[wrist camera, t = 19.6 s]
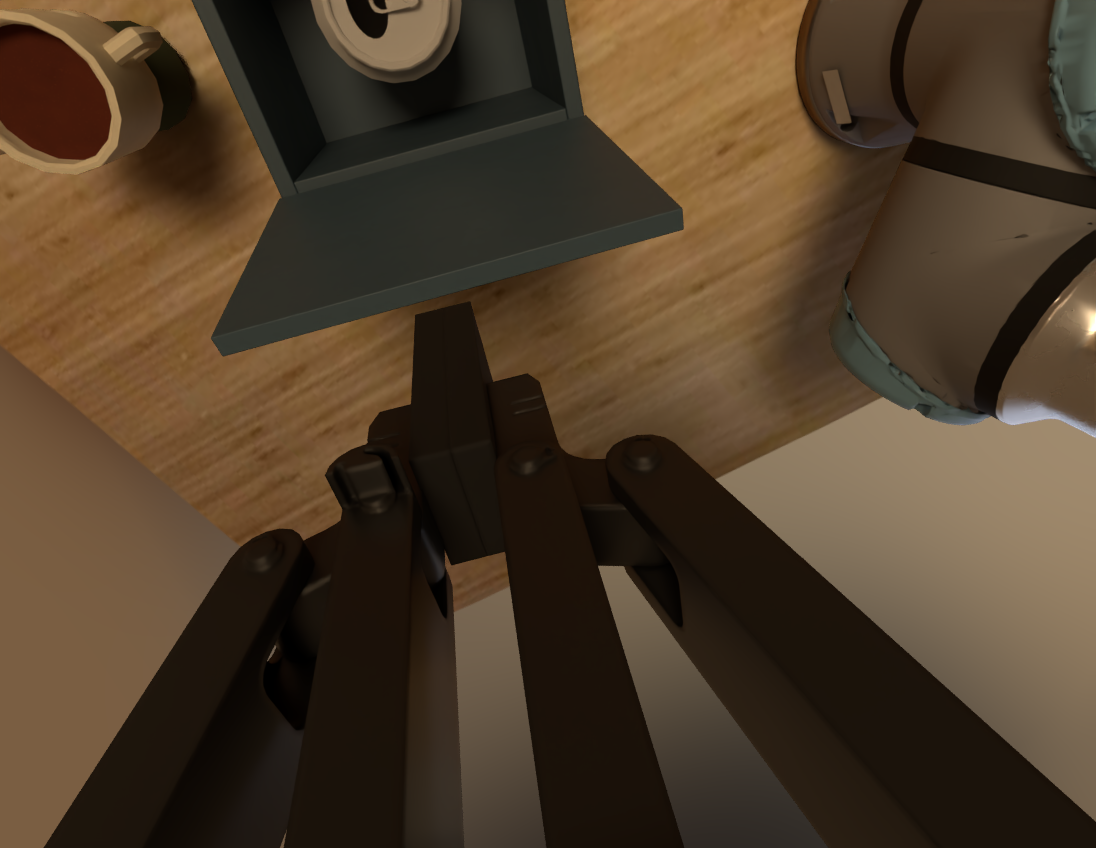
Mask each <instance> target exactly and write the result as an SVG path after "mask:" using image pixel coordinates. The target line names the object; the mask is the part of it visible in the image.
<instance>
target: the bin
mask: <svg viewBox="0 0 1096 848" xmlns="http://www.w3.org/2000/svg"><path fill="white" fill-rule="evenodd" d="M192 2H193V5H194V7H195V9H196V11H197V13H198V16H199V18H200V20H201V22H202V24H203V26H204V29H205V31H206V33H207V35H208V37H209V40H210V42H211V44H212V46H213V48H214V51H215V53H216V55H217V57H218V59H219V61H220V64H221V66H222V68H223V70H224V72H225V75H226V77H227V79H228V81H229V83H230V85H231V88H232V90H233V92H234V94H235V96H236V99H237V101H238V103H239V105H240V107H241V110H242V112H243V114H244V116H245V118H246V120H247V123H248V125H249V127H250V129H251V131H252V134H253V136H254V138H255V140H256V142H257V144H258V147H259V149H260V151H261V153H262V155H263V158H264V160H265V162H266V164H267V166H268V169H269V171H270V173H271V175H272V177H273V179H274V182H275V184H276V186H277V188H278V190H279V193H280V195H281V197H282V198H284V197H288V196H291V195H295V194H299V193H302V192H306V191H310V190H313V189H317V188H321V187H324V186H328V185H332V184H335V183H339V182H343V181H346V180H350V179H354V178H357V177H361V176H365V175H368V174H372V173H376V172H379V171H383V170H387V169H390V168H394V167H398V166H401V165H405V164H409V163H412V162H416V161H420V160H423V159H427V158H431V157H434V156H438V155H442V154H445V153H449V152H453V151H456V150H460V149H464V148H467V147H471V146H475V145H478V144H482V143H486V142H489V141H493V140H497V139H500V138H504V137H508V136H511V135H515V134H519V133H522V132H526V131H530V130H533V129H537V128H541V127H544V126H548V125H552V124H555V123H559V122H563V121H566V120H570V119H574V118H577V117H581V116H584V112H583V106H582V100H581V95H580V89H579V83H578V77H577V71H576V65H575V59H574V53H573V47H572V41H571V35H570V29H569V23H568V17H567V12H566V6H565V0H461V2H462V5H461V14H460V23H459V30H458V33H457V35H456V38H455V40H454V43H453V45H452V47H451V50H450V52H449V53H448V55H447V56H446V57H445V58H444V59H443V60H442V62H441V63H440V64H439V65H438V66H437V67H436V69H435V70H433V71H431V72H429V73H428V74H426V75H424V76H422V77H420V78H419V79H417V80H414V81H406V82H399V83H390V82H385V81H380V80H376V79H371V78H369V77H368V76H366V75H364V74H362V73H361V72H359V71H357V70H355V69H354V68H352V67H350V66H349V65H348V64H347V63H346V62H345V61H344V60H343V59H342V58H341V57H340V56H339V55H338V54H337V53H336V52H335V51H334V50H333V49H332V48H331V46H330V45H329V43H328V41H327V39H326V38H325V36H324V34H323V32H322V31H321V29H320V27H319V25H318V23H317V21H316V17H315V14H314V10H313V6H312V2H311V0H192Z"/></svg>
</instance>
